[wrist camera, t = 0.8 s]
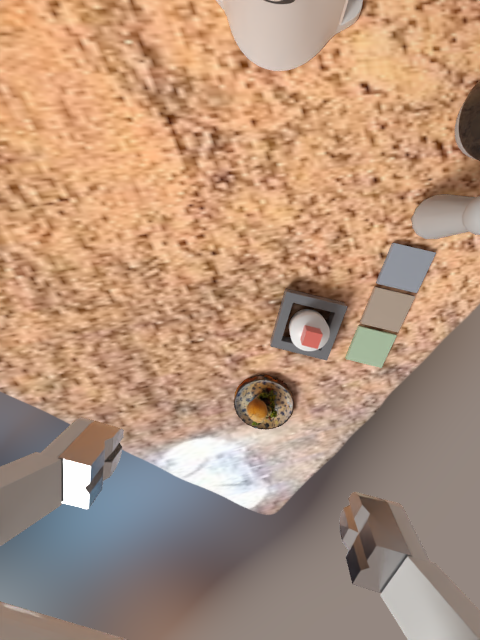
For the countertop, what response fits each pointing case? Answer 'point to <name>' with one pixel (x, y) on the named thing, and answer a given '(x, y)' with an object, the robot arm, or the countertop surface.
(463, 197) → the salt shaker
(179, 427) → the countertop surface
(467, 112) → the dark grey egg device
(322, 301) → the button housing
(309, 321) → the dome
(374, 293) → the track
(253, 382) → the bowl of food
